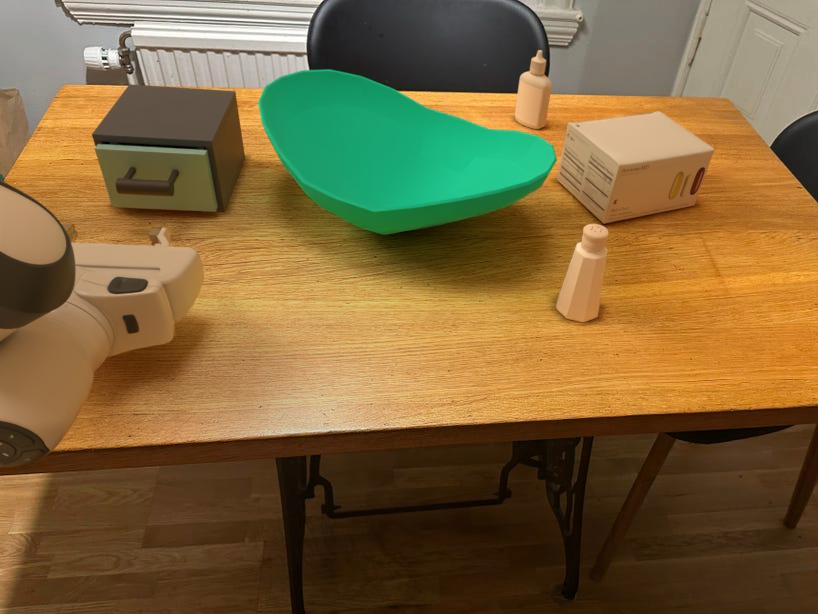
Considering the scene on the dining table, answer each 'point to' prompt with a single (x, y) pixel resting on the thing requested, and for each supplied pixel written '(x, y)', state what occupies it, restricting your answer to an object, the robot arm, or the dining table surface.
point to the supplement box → (633, 165)
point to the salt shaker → (585, 276)
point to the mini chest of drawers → (181, 127)
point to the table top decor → (394, 153)
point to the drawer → (157, 176)
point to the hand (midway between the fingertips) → (115, 230)
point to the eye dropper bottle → (533, 95)
